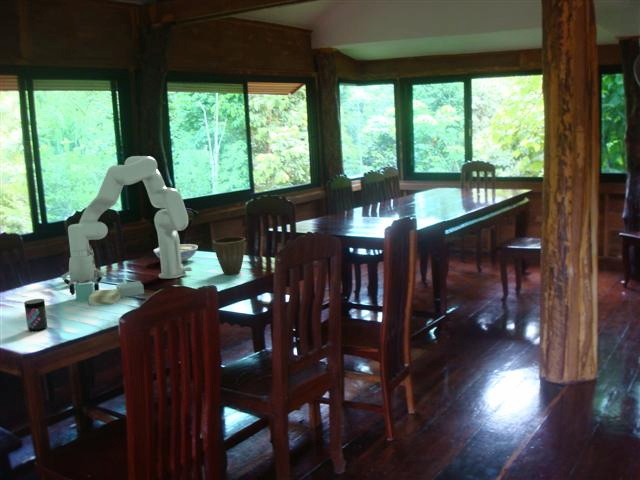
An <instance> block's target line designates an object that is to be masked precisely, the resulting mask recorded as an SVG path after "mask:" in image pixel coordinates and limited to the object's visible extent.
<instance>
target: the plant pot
mask: <svg viewBox="0 0 640 480" xmlns="http://www.w3.org/2000/svg"><path fill="white" fill-rule="evenodd" d="M212 243H213V249H214V252H215V255H216V259H217V261H218V264H219V267H220V268H221V270H222V273H223V274H224V275H225V276H233V275H234V276H235V275H238V274H241V270H242V267H243V262H244V257H245V247H246V238H245V237H242V236H228V237H222V238H217V239H214V240H212Z"/></svg>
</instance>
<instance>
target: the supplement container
mask: <svg viewBox="0 0 640 480" xmlns="http://www.w3.org/2000/svg"><path fill="white" fill-rule="evenodd" d="M23 305H24V310H25V319H26V326H27V331H29V332H31V333H33V332H35V333H37V332H42V331H45V330H47V329H48V319H47V313H46V303H45V299H44V298H35V299H29V300H25V301H24V302H23ZM32 331H33V332H32ZM36 331H37V332H36Z"/></svg>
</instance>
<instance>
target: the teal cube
mask: <svg viewBox="0 0 640 480" xmlns="http://www.w3.org/2000/svg"><path fill="white" fill-rule="evenodd" d="M74 288H75V299H76V300H75V301H86V300H88V301H89V296H90V295H91V294H92V293H93V292H94V282H93V281H92V282H88V283H78V284H76V285H74Z"/></svg>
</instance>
